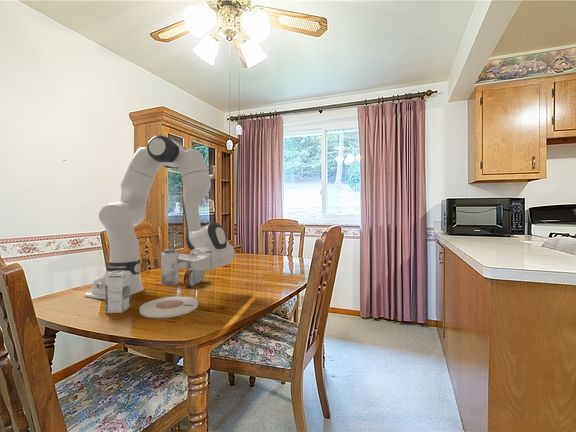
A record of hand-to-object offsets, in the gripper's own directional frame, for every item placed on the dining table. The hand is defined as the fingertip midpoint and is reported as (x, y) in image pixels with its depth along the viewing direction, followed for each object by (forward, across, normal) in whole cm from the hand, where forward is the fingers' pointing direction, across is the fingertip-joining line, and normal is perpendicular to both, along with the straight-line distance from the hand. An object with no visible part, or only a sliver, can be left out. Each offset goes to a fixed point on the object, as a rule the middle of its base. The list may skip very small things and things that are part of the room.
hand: (167, 265), depth 104 cm
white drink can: (-1, 0, +7) cm, 7 cm away
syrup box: (+10, -14, +17) cm, 24 cm away
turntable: (-1, 0, +15) cm, 15 cm away
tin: (-30, -24, +17) cm, 42 cm away
